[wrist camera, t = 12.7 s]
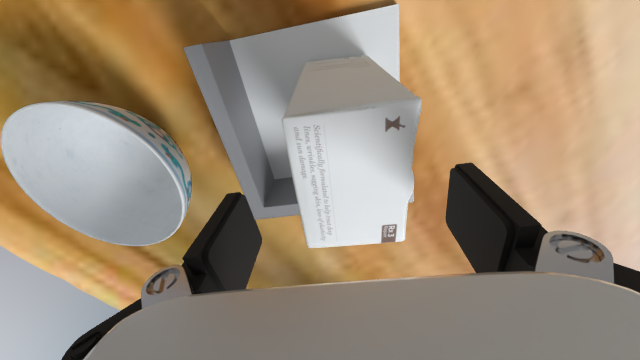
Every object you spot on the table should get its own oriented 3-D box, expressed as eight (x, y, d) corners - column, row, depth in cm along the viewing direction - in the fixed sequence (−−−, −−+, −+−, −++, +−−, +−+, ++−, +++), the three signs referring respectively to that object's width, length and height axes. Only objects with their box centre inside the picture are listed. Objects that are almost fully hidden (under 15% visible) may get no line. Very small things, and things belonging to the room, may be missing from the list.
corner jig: (398, 170, 28) (413, 201, 23) (267, 187, 30) (254, 219, 25) (397, 4, 20) (419, -4, 15) (217, 43, 22) (182, 47, 17)
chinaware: (239, 188, 31) (213, 232, 24) (141, 211, 33) (95, 256, 27) (167, 62, 23) (102, 76, 17) (50, 106, 26) (-45, 132, 19)
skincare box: (304, 61, 22) (267, 105, 9) (371, 53, 21) (428, 89, 9) (315, 146, 26) (300, 253, 14) (371, 141, 26) (409, 249, 13)
